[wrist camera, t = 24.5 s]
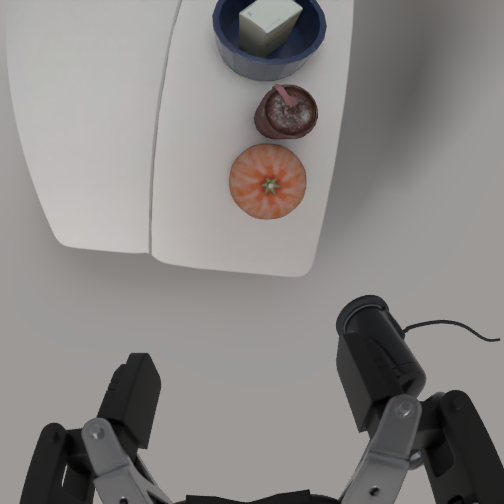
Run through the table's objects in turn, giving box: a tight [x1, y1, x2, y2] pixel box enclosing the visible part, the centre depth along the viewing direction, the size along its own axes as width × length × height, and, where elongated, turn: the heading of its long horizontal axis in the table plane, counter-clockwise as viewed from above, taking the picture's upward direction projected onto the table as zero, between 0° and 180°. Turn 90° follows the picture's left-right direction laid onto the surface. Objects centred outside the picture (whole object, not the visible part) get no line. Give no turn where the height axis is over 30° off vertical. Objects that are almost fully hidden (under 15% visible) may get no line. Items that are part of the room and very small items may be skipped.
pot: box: [212, 0, 327, 81], centre depth 28 cm, size 14×14×10 cm
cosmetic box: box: [239, 0, 303, 58], centre depth 26 cm, size 6×4×12 cm
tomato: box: [229, 144, 306, 219], centre depth 37 cm, size 11×11×8 cm
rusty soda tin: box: [254, 84, 318, 139], centre depth 31 cm, size 6×6×14 cm
